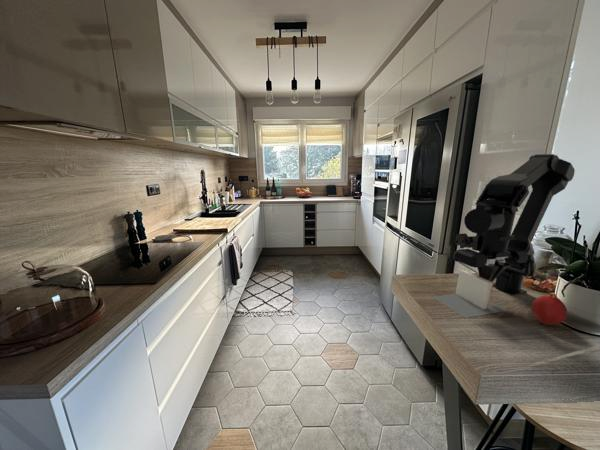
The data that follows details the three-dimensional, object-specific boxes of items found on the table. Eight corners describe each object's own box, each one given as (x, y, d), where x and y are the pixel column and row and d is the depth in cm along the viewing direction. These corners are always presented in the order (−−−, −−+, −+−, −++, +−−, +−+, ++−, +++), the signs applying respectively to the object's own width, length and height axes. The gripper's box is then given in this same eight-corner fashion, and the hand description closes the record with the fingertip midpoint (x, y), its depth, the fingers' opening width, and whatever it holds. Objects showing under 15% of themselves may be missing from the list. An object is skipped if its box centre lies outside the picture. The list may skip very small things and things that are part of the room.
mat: (470, 292, 72) (471, 291, 72) (507, 311, 63) (508, 310, 63) (431, 298, 68) (431, 296, 68) (464, 319, 59) (464, 318, 59)
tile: (459, 293, 71) (464, 269, 69) (487, 308, 63) (493, 282, 62) (455, 293, 70) (459, 270, 69) (482, 309, 63) (488, 283, 61)
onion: (529, 314, 62) (537, 284, 60) (562, 325, 58) (571, 293, 56) (526, 323, 58) (535, 292, 56) (562, 336, 54) (572, 302, 52)
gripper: (492, 221, 74) (481, 271, 77) (441, 223, 68) (432, 276, 72) (536, 231, 63) (521, 288, 67) (480, 234, 58) (467, 295, 62)
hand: (484, 286), depth 67 cm, fingers closed
